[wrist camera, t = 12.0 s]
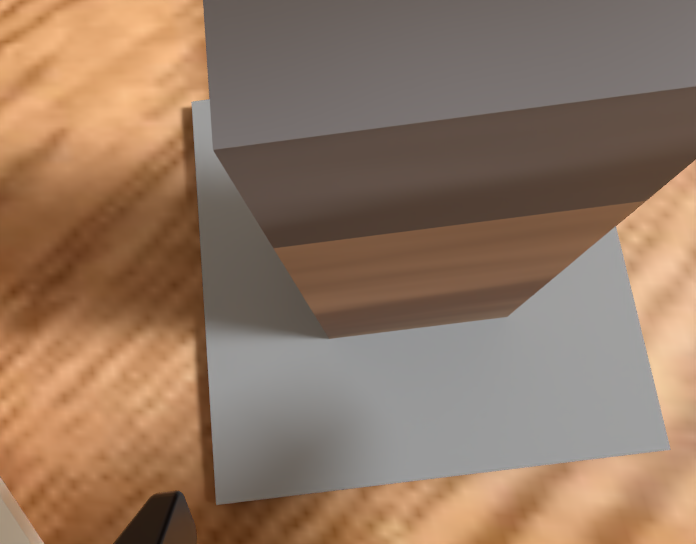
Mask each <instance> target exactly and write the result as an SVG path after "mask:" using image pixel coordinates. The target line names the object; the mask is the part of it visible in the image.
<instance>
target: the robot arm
mask: <svg viewBox="0 0 696 544" xmlns="http://www.w3.org/2000/svg"><path fill="white" fill-rule="evenodd" d="M113 544H197V533H196V526H195V523H194V521H193V518H192V515H191V513H190V510H189V508H188V505H187V502H186V500H185V497H184V495H183V494H182V493H181V492H180V491H170V492H162V493H156V494H154V495H153V496H151V497H150V498H149V499H148V501H147V502H146V503H145V504H144V506H143V507H142V508H141V509H140V511H139V512H138V513H137V514H136V516H135V517H134V518H133V519H132V521H131V522H130V523H129V524H128V526H127V527H126V528H125V529H124V531H123V532H122V533H121V534H120V536H119V537H118V538H117V539H116V541H115V542H114V543H113Z"/></svg>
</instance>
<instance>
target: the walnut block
mask: <svg viewBox="0 0 696 544" xmlns="http://www.w3.org/2000/svg"><path fill="white" fill-rule="evenodd" d="M203 6H204V22H205V37H206V52H207V67H208V83H209V98H210V113H211V129H212V144H213V151H214V153H215V154H216V156H217V157H218V159H219V161H220V162H221V164H222V166H223V167H224V169H225V170H226V172H227V174H228V175H229V177H230V179H231V180H232V182H233V183H234V185H235V187H236V188H237V190H238V192H239V193H240V195H241V196H242V198H243V200H244V201H245V203H246V205H247V206H248V208H249V209H250V211H251V213H252V214H253V216H254V218H255V219H256V221H257V222H258V224H259V226H260V227H261V229H262V231H263V232H264V234H265V235H266V237H267V239H268V240H269V242H270V244H271V245H272V247H273V248H274V250H275V252H276V253H277V255H278V257H279V258H280V260H281V261H282V263H283V265H284V266H285V268H286V270H287V271H288V273H289V274H290V276H291V278H292V279H293V281H294V283H295V284H296V286H297V287H298V289H299V291H300V292H301V294H302V296H303V297H304V299H305V300H306V302H307V304H308V305H309V307H310V309H311V310H312V312H313V313H314V315H315V317H316V318H317V320H318V322H319V323H320V325H321V326H322V328H323V330H324V331H325V333H326V335H327V336H328V338H329V339H333V338H341V337H349V336H357V335H366V334H374V333H382V332H390V331H398V330H406V329H414V328H422V327H430V326H438V325H446V324H454V323H462V322H471V321H479V320H487V319H495V318H503V317H508V316H509V315H510V314H511V313H513V312H514V311H515V310H516V309H517V308H519V307H520V306H521V305H522V304H523V303H525V302H526V301H527V300H528V299H529V298H530V297H532V296H533V295H534V294H535V293H536V292H538V291H539V290H540V289H541V288H542V287H544V286H545V285H546V284H547V283H548V282H550V281H551V280H552V279H553V278H554V277H556V276H557V275H558V274H559V273H560V272H562V271H563V270H564V269H565V268H566V267H568V266H569V265H570V264H571V263H572V262H574V261H575V260H576V259H577V258H578V257H580V256H581V255H582V254H583V253H584V252H585V251H587V250H588V249H589V248H590V247H591V246H593V245H594V244H595V243H596V242H597V241H599V240H600V239H601V238H602V237H603V236H605V235H606V234H607V233H608V232H609V231H611V230H612V229H613V228H614V227H615V226H617V225H618V224H619V223H620V222H621V221H623V220H624V219H625V218H626V217H627V216H629V215H630V214H631V213H632V212H633V211H635V210H636V209H637V208H638V207H639V206H640V205H642V204H643V203H644V202H645V201H646V200H648V199H649V198H650V197H651V196H652V195H654V194H655V193H656V192H657V191H658V190H660V189H661V188H662V187H663V186H664V185H666V184H667V183H668V182H669V181H670V180H672V179H673V178H674V177H675V176H676V175H678V174H679V173H680V172H681V171H682V170H684V169H685V168H686V167H687V166H688V165H690V164H691V163H692V162H693V161H694V160H695V159H696V0H203Z"/></svg>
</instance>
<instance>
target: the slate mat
mask: <svg viewBox="0 0 696 544" xmlns="http://www.w3.org/2000/svg"><path fill="white" fill-rule="evenodd" d="M192 116H193V133H194V149H195V166H196V182H197V198H198V215H199V231H200V248H201V264H202V280H203V297H204V313H205V330H206V346H207V362H208V379H209V395H210V412H211V428H212V444H213V461H214V477H215V494H216V505H220V504H229V503H237V502H245V501H253V500H261V499H270V498H278V497H286V496H294V495H302V494H311V493H319V492H327V491H335V490H344V489H352V488H360V487H368V486H376V485H385V484H393V483H401V482H409V481H417V480H426V479H434V478H442V477H450V476H458V475H467V474H475V473H483V472H491V471H499V470H508V469H516V468H524V467H532V466H540V465H549V464H557V463H565V462H573V461H581V460H590V459H598V458H606V457H614V456H623V455H631V454H639V453H647V452H655V451H664V450H670V445H669V441H668V437H667V433H666V429H665V425H664V421H663V417H662V413H661V409H660V405H659V401H658V396H657V392H656V388H655V384H654V380H653V376H652V372H651V368H650V364H649V360H648V356H647V352H646V347H645V343H644V339H643V335H642V331H641V327H640V323H639V319H638V315H637V311H636V307H635V303H634V298H633V294H632V290H631V286H630V282H629V278H628V274H627V270H626V266H625V262H624V258H623V254H622V249H621V245H620V241H619V237H618V233H617V229H616V226H615V227H614V228H613V229H612V230H611V231H609V232H608V233H607V234H606V235H605V236H603V237H602V238H601V239H600V240H599V241H597V242H596V243H595V244H594V245H593V246H591V247H590V248H589V249H588V250H587V251H585V252H584V253H583V254H582V255H581V256H580V257H578V258H577V259H576V260H575V261H574V262H572V263H571V264H570V265H569V266H568V267H566V268H565V269H564V270H563V271H562V272H560V273H559V274H558V275H557V276H556V277H554V278H553V279H552V280H551V281H550V282H548V283H547V284H546V285H545V286H544V287H542V288H541V289H540V290H539V291H538V292H536V293H535V294H534V295H533V296H532V297H530V298H529V299H528V300H527V301H526V302H525V303H523V304H522V305H521V306H520V307H519V308H517V309H516V310H515V311H514V312H513V313H511V314H510V315H509V316H508V317H503V318H495V319H487V320H479V321H471V322H462V323H454V324H446V325H438V326H430V327H422V328H414V329H406V330H398V331H390V332H382V333H374V334H366V335H357V336H349V337H341V338H333V339H329V338H328V336H327V335H326V333H325V331H324V330H323V328H322V326H321V325H320V323H319V322H318V320H317V318H316V317H315V315H314V313H313V312H312V310H311V309H310V307H309V305H308V304H307V302H306V300H305V299H304V297H303V296H302V294H301V292H300V291H299V289H298V287H297V286H296V284H295V283H294V281H293V279H292V278H291V276H290V274H289V273H288V271H287V270H286V268H285V266H284V265H283V263H282V261H281V260H280V258H279V257H278V255H277V253H276V252H275V250H274V248H273V247H272V245H271V244H270V242H269V240H268V239H267V237H266V235H265V234H264V232H263V231H262V229H261V227H260V226H259V224H258V222H257V221H256V219H255V218H254V216H253V214H252V213H251V211H250V209H249V208H248V206H247V205H246V203H245V201H244V200H243V198H242V196H241V195H240V193H239V192H238V190H237V188H236V187H235V185H234V183H233V182H232V180H231V179H230V177H229V175H228V174H227V172H226V170H225V169H224V167H223V166H222V164H221V162H220V161H219V159H218V157H217V156H216V154H215V153H214V151H213V144H212V129H211V113H210V99H208V100H201V101H194V102H192Z"/></svg>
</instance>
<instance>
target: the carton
mask: <svg viewBox="0 0 696 544" xmlns="http://www.w3.org/2000/svg"><path fill="white" fill-rule="evenodd" d="M0 544H44V543H43V541H42V540H41V538H40V536H39V535H38V533H37V532H36V530H35V529H34V527H33V526H32V524H31V523H30V521H29V520H28V518H27V517H26V515H25V514H24V512H23V511H22V509H21V508H20V506H19V505H18V503H17V502H16V500H15V498H14V497H13V495H12V494H11V492H10V491H9V489H8V488H7V486H6V485H5V483H4V482H3V480H2V479H1V477H0Z"/></svg>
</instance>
